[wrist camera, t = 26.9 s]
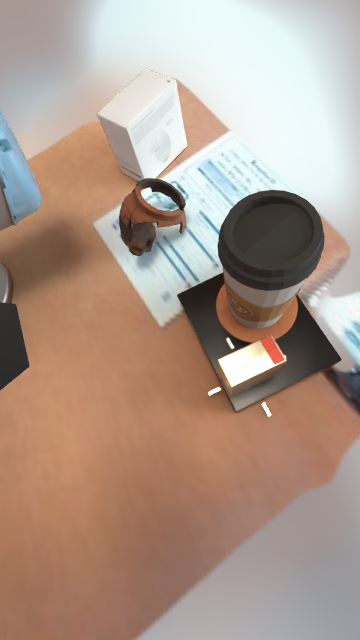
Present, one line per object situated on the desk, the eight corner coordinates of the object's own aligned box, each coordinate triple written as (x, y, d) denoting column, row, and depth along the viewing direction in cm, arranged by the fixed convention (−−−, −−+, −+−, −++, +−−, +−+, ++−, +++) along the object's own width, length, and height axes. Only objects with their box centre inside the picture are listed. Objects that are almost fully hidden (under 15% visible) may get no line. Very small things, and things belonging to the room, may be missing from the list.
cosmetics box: (160, 132, 54) (144, 65, 44) (188, 146, 52) (178, 79, 42) (119, 171, 52) (94, 111, 42) (146, 188, 50) (126, 128, 40)
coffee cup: (207, 303, 38) (194, 229, 24) (256, 262, 39) (271, 168, 25) (255, 352, 35) (272, 299, 21) (307, 306, 36) (356, 227, 22)
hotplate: (167, 308, 42) (163, 300, 40) (265, 260, 42) (267, 250, 40) (229, 435, 35) (229, 435, 33) (344, 378, 36) (353, 374, 33)
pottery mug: (122, 210, 50) (134, 164, 43) (177, 230, 52) (196, 189, 45) (103, 263, 43) (113, 218, 36) (167, 284, 45) (187, 245, 38)
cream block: (231, 397, 34) (231, 387, 27) (219, 374, 35) (217, 358, 28) (275, 375, 34) (287, 360, 27) (263, 353, 35) (271, 333, 28)
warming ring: (203, 291, 39) (203, 290, 39) (270, 258, 40) (270, 257, 39) (239, 357, 36) (239, 356, 35) (313, 321, 36) (314, 320, 36)
